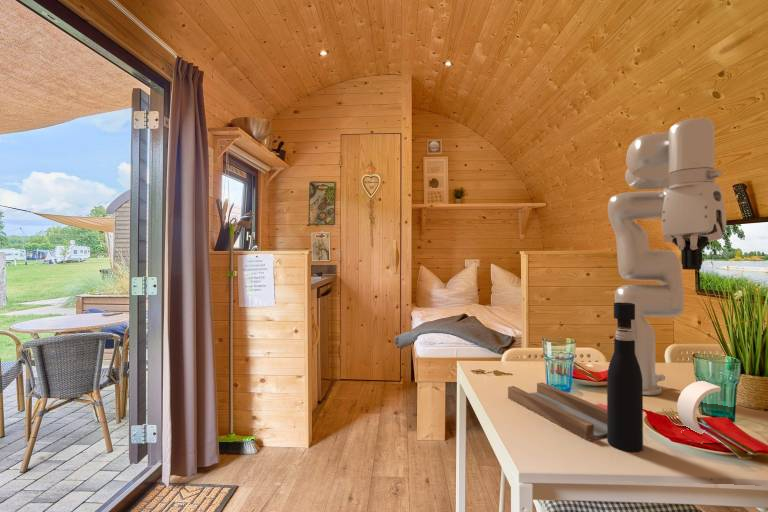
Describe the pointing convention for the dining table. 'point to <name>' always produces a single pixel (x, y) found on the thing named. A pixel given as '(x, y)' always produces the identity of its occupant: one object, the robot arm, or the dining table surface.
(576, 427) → the cradle
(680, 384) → the dining table surface
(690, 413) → the white crescent arch
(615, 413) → the wine bottle
